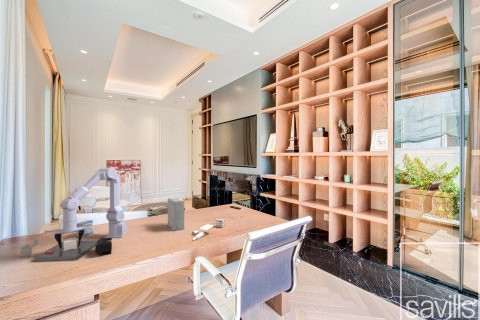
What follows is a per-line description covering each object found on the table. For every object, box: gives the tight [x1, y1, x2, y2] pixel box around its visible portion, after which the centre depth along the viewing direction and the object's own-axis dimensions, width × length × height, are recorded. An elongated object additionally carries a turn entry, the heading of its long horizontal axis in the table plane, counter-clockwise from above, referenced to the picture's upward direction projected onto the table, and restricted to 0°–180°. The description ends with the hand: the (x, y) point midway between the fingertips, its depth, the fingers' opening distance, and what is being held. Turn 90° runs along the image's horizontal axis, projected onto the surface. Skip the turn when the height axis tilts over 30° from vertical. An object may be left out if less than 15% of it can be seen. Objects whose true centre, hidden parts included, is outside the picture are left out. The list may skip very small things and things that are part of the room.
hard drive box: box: [167, 197, 185, 231], centre depth 156 cm, size 16×8×20 cm, turn 34°
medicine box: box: [76, 219, 94, 238], centre depth 139 cm, size 8×4×9 cm, turn 168°
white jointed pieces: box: [191, 218, 226, 241], centre depth 145 cm, size 10×6×30 cm
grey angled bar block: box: [19, 237, 40, 258], centre depth 112 cm, size 7×2×8 cm, turn 130°
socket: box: [33, 239, 98, 262], centre depth 115 cm, size 20×20×2 cm
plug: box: [63, 236, 78, 251], centre depth 115 cm, size 5×5×6 cm
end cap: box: [94, 236, 113, 257], centre depth 115 cm, size 10×7×7 cm
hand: (70, 246), depth 115 cm, fingers open, 7 cm apart
